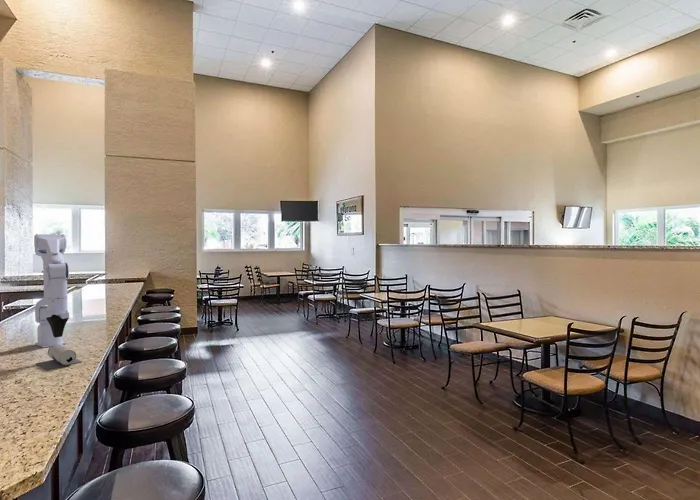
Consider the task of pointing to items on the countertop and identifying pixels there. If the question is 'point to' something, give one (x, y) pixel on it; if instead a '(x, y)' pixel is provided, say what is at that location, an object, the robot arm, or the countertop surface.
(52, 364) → the mat
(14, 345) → the countertop surface
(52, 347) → the energy drink
